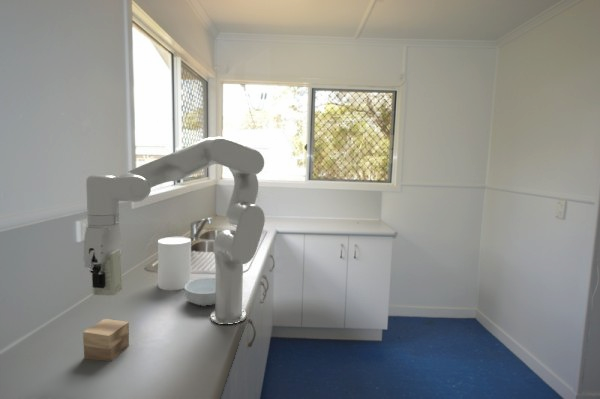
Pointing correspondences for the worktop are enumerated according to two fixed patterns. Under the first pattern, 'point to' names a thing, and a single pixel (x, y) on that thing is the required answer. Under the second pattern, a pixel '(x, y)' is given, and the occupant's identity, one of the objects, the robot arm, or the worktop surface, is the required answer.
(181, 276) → the canister
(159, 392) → the worktop surface
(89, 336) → the oak top block
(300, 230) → the worktop surface
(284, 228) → the worktop surface
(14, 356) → the worktop surface
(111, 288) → the skincare box
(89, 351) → the walnut base block
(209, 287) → the cereal bowl
